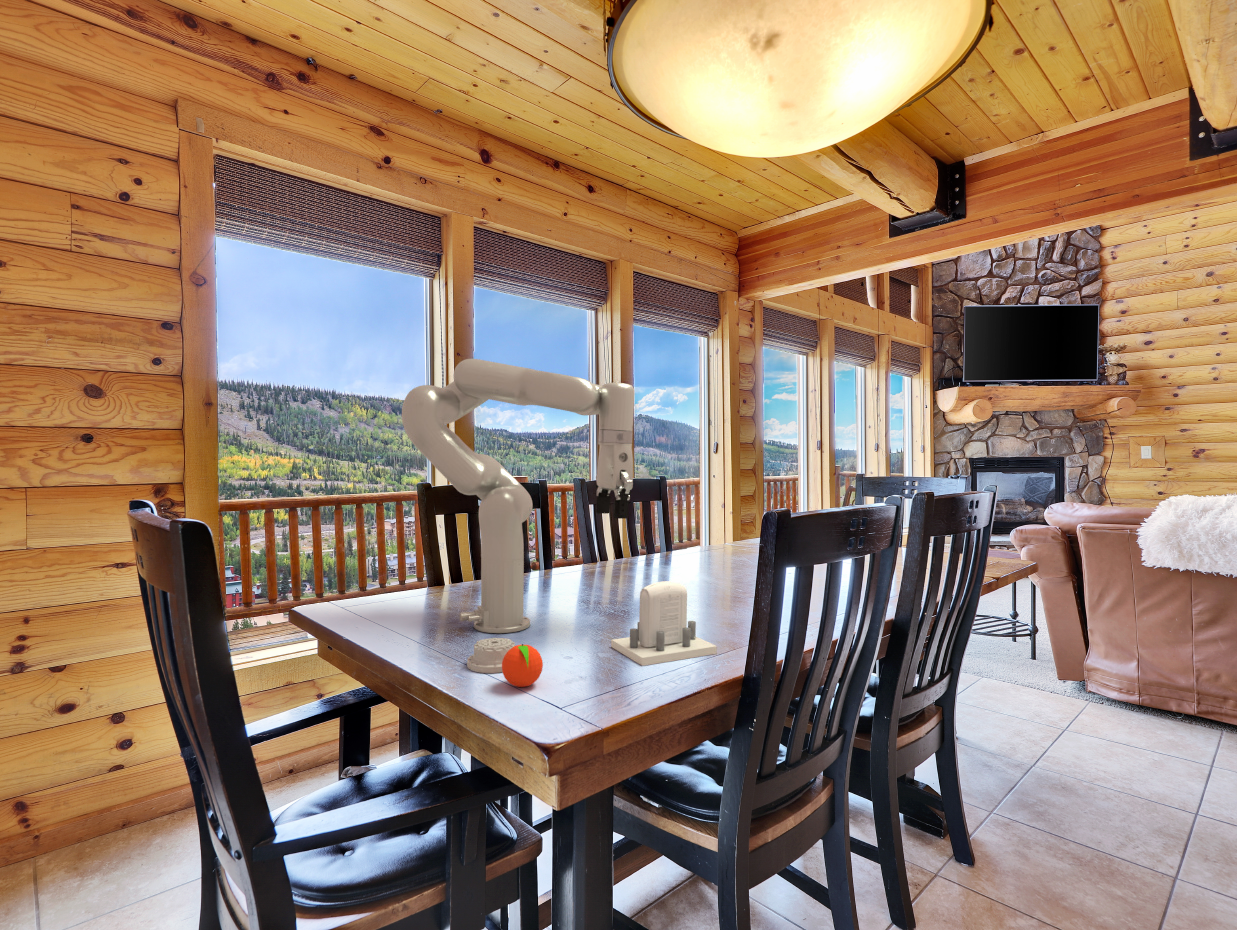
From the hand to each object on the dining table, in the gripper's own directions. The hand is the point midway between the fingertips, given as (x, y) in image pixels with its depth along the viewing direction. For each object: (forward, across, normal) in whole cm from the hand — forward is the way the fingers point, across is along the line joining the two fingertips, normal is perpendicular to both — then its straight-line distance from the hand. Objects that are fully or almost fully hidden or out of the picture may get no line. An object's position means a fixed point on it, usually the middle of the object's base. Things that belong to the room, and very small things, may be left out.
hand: (611, 515), depth 144 cm
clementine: (+26, -26, +27) cm, 46 cm away
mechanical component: (+27, -13, +28) cm, 41 cm away
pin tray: (+25, -18, -5) cm, 31 cm away
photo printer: (+24, -18, -5) cm, 30 cm away
